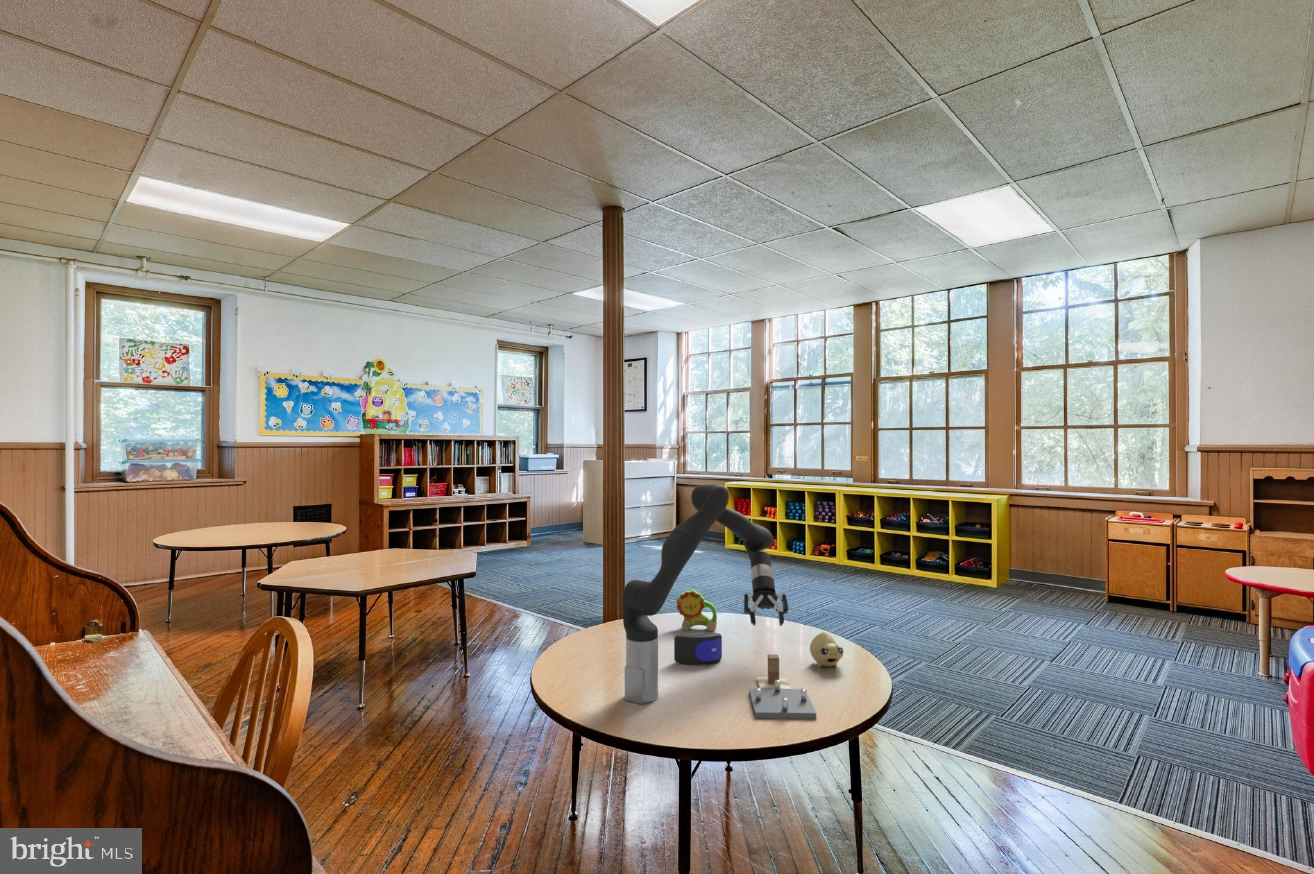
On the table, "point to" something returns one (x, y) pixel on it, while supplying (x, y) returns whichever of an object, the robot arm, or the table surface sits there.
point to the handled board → (765, 680)
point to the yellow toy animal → (825, 650)
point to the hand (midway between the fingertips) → (767, 624)
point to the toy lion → (695, 610)
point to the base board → (773, 704)
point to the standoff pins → (784, 700)
